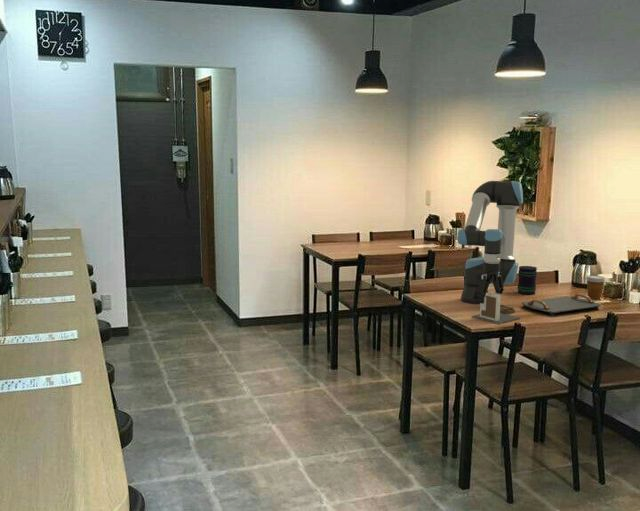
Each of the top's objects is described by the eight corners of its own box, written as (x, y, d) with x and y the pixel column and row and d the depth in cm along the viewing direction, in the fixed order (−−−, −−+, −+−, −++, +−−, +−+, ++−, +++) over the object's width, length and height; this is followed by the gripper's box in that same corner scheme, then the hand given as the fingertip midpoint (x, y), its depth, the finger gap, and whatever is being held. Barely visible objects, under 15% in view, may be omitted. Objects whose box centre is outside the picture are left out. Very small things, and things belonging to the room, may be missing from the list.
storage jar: (534, 291, 360) (536, 266, 358) (536, 295, 351) (537, 269, 348) (516, 290, 362) (518, 265, 360) (517, 294, 353) (519, 268, 351)
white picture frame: (479, 316, 303) (480, 292, 301) (482, 316, 304) (483, 291, 302) (496, 321, 295) (497, 296, 293) (499, 320, 297) (500, 295, 295)
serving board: (570, 300, 341) (571, 289, 340) (605, 310, 321) (606, 298, 320) (515, 308, 325) (516, 296, 324) (549, 318, 304) (550, 306, 303)
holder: (482, 309, 320) (482, 304, 320) (492, 306, 325) (492, 301, 324) (505, 314, 309) (505, 309, 309) (515, 312, 314) (515, 307, 314)
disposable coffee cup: (586, 299, 341) (587, 278, 339) (583, 295, 350) (585, 274, 348) (605, 300, 339) (606, 279, 337) (601, 296, 348) (603, 275, 346)
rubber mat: (471, 317, 304) (471, 316, 304) (492, 312, 314) (492, 311, 314) (499, 324, 292) (499, 323, 292) (519, 318, 302) (519, 317, 301)
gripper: (483, 265, 286) (481, 313, 289) (513, 260, 299) (510, 306, 303) (470, 263, 291) (468, 310, 295) (500, 258, 305) (497, 303, 309)
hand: (489, 308), depth 299 cm, fingers open, 10 cm apart
